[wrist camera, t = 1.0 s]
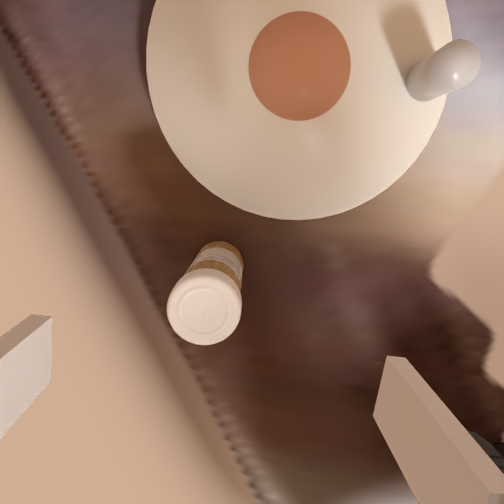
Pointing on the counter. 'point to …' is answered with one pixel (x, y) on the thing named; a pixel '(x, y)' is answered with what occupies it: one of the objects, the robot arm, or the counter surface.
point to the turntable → (301, 95)
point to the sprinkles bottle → (208, 295)
